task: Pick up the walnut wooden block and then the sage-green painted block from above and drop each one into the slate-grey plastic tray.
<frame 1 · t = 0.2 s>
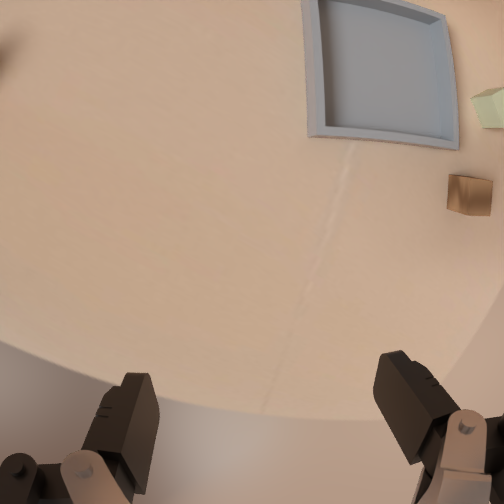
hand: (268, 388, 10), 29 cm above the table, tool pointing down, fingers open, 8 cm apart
tray: (379, 68, 33), on the table
walnut block: (459, 192, 39), on the table
sage block: (484, 108, 35), on the table
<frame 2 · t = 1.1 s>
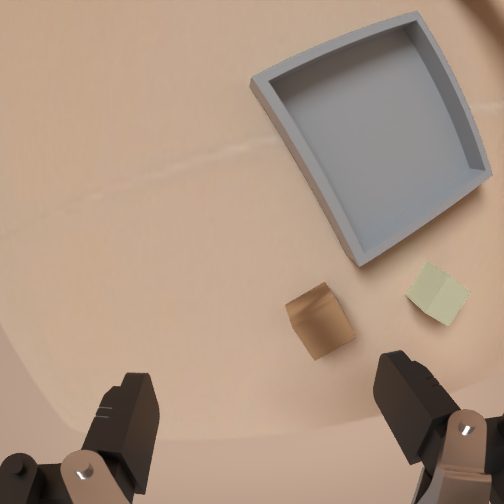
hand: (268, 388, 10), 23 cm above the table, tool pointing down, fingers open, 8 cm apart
tray: (381, 128, 29), on the table
walnut block: (314, 309, 35), on the table
sage block: (427, 285, 35), on the table
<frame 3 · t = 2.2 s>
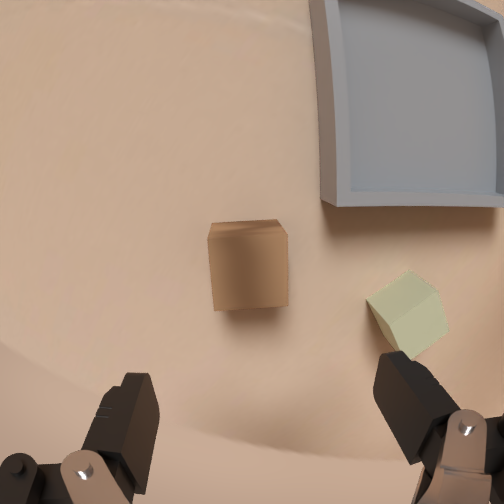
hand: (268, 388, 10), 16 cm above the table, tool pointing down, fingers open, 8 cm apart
tray: (422, 88, 22), on the table
walnut block: (245, 251, 25), on the table
sage block: (396, 303, 28), on the table
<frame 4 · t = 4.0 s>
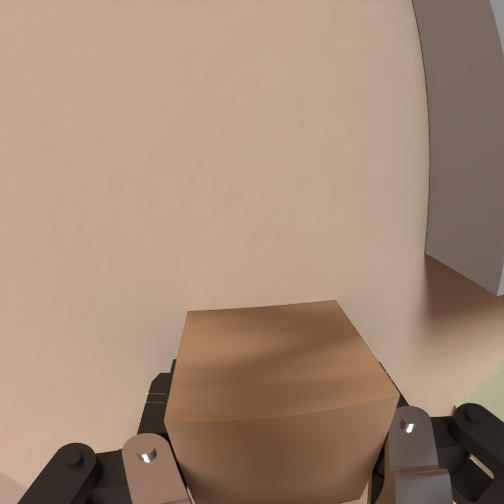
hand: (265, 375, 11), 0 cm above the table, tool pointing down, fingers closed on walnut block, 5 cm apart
walnut block: (265, 366, 11), on the table, touching gripper
sage block: (487, 398, 14), on the table
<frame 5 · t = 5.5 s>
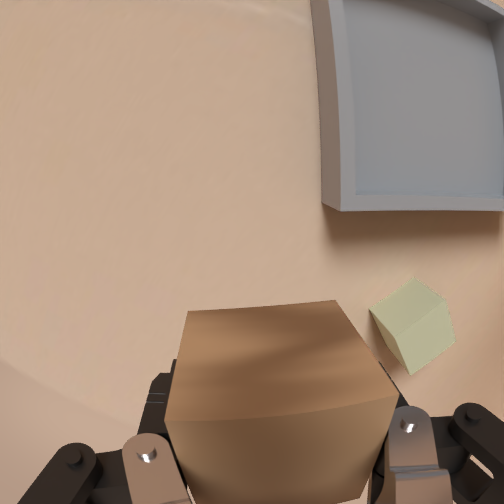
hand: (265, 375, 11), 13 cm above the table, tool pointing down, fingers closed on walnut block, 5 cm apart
tray: (428, 85, 20), on the table
walnut block: (264, 365, 11), point 13 cm above the table, touching gripper
sage block: (400, 312, 26), on the table
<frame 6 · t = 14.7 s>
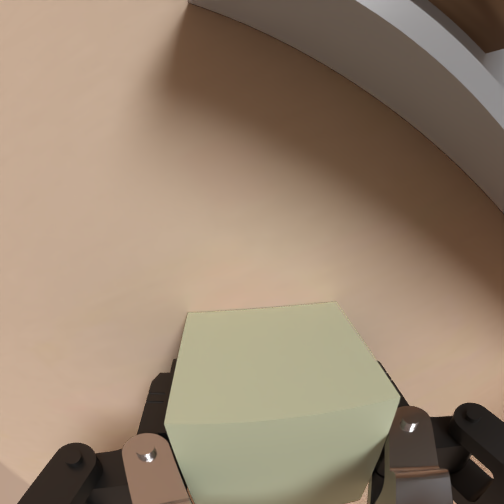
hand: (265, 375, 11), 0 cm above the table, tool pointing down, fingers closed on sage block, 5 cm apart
sage block: (265, 367, 11), on the table, touching gripper
when the fingers open (4 cm above the table, at t = 20.9 s): sage block drops 2 cm, resting on tray.
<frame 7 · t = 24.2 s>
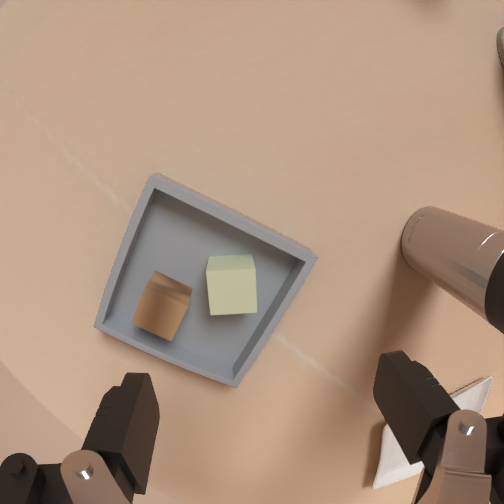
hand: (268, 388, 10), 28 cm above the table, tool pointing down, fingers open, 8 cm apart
tray: (198, 283, 39), on the table
walnut block: (166, 296, 38), point 1 cm above the table, touching tray
sage block: (231, 275, 38), point 1 cm above the table, touching tray
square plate: (426, 430, 53), on the table
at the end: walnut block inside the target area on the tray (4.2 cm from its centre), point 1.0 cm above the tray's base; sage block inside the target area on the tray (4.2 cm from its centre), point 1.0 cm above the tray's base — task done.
